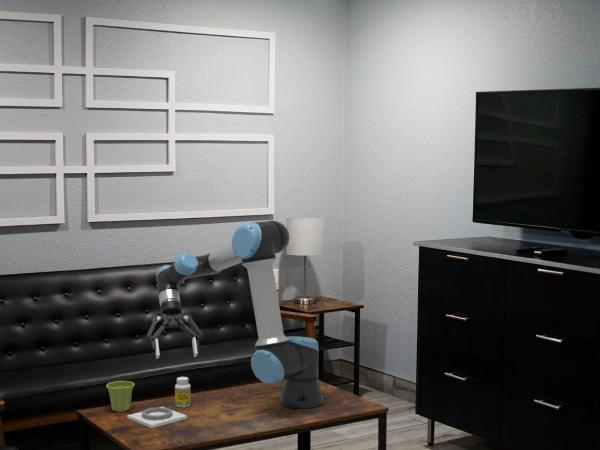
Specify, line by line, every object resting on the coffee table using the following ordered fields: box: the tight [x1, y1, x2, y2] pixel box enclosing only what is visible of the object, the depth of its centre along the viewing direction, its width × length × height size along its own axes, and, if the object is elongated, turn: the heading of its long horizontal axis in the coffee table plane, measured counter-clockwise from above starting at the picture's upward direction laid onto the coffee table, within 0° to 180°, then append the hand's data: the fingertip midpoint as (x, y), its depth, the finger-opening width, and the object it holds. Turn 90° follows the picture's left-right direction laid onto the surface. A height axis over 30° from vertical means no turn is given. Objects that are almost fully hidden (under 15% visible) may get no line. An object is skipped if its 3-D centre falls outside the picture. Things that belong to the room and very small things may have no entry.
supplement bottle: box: [174, 376, 192, 408], centre depth 307 cm, size 5×5×10 cm
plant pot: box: [106, 380, 135, 413], centre depth 302 cm, size 9×9×9 cm
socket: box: [126, 406, 188, 429], centre depth 292 cm, size 14×14×2 cm
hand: (177, 356), depth 314 cm, fingers open, 13 cm apart
